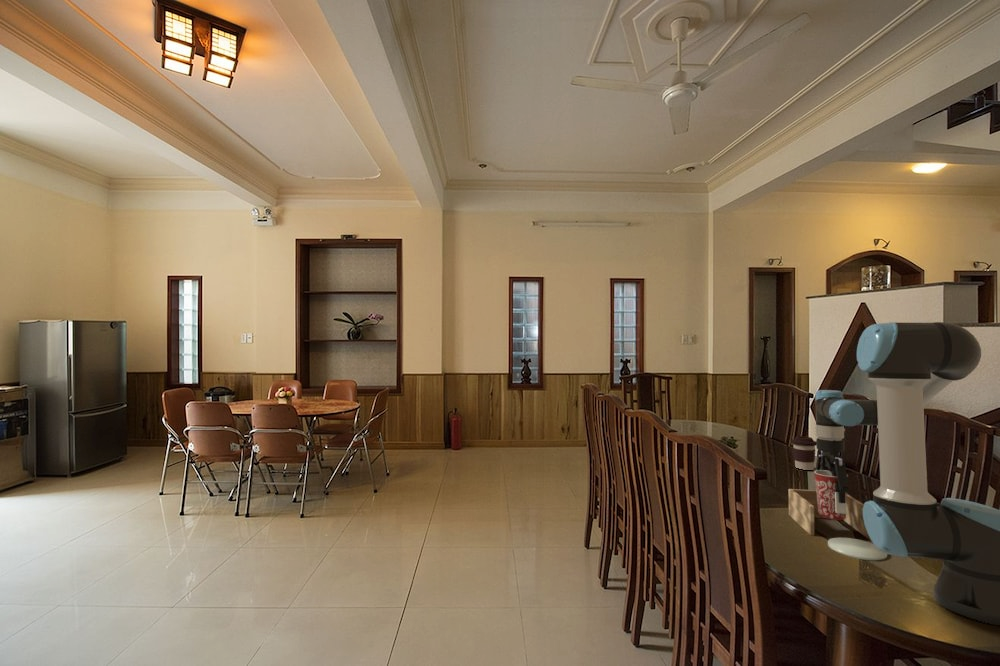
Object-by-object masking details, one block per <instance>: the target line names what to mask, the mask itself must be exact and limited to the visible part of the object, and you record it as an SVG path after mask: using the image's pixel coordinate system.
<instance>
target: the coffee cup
mask: <svg viewBox="0 0 1000 666" xmlns="http://www.w3.org/2000/svg"><path fill="white" fill-rule="evenodd" d="M791 444H792V445H793V447H792V450H793V460H794V466H795V467H796V468H799V469H803V470H813V471H814V469H815V468H814V467H815V460H816V459H815V457H816V447H817V445H816V441H815V440H814V439H813V437H810V436H804V435H803V436H802V435H801V436H799V435H798V436H795V437H794V438H792V439H791ZM796 468H795V469H796Z"/></svg>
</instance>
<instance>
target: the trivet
mask: <svg viewBox="0 0 1000 666" xmlns="http://www.w3.org/2000/svg"><path fill="white" fill-rule="evenodd" d="M827 546H828V548H829V549H830V550H832V551H833V552H836V553H838V554H840V555H842V556H845V557H849V558H853V559H858V560H863V561H876V562H877V561H883V560H886V559H887V558H888V554H886V553H883V552H881V551H880V550H879V549H878V548H877V547H876V546H875V545H874V544H873V542H870V541H867V540H863V539H858V538H851V537H833V538H829V539H828V540H827Z"/></svg>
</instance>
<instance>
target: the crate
mask: <svg viewBox="0 0 1000 666" xmlns="http://www.w3.org/2000/svg"><path fill="white" fill-rule="evenodd" d="M863 507H864V503H862V501H859V500H858V499H856V498H854V497H853V496H851V495H850V494H848V493H847V500H846V518H845V519H842V520H843V521H844V522H845V523H846V524H848V525H849V526H850V527H852V528H853V529H854V530H856V531H857V532H858V533H860V534H861V535H863V536H864V537H866V539H868V540H871V539H870V537H869V535H868V532H867V530H866V527H865V524H864V519H863ZM788 516H790V517H791V518H792V519H793V521H795V522H796V523H797V524H798V525H799V526H800V527H801V528H802V529H803V530H805V532H807V534H809V535H810V536H815V518H817V519H818V518H819V519H820V518H821V519H826V518H825V517H822V516H820V515H819V514H818V504H817V492H816V489H796V488H795V489H794V488H788Z"/></svg>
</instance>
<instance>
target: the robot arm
mask: <svg viewBox="0 0 1000 666" xmlns="http://www.w3.org/2000/svg"><path fill="white" fill-rule="evenodd" d="M857 343H858V344H857V347H856V361H857V363H858V364H857V365H858V368H859V369H860V370H861V371H863V372H865V373H867V375H868V376H867V379H868V380H869V381H870V382H871V383H873V384H874V385H875V387H876V399H845V398H844V393H843V392H842V391H841V390H833V389H819V390H817V391H815V399H814V403H815V436H816V438H815V439H816V449H817V452H816V453H817V455H816V464H815V468H814V469H815V470H814V471H816V470H829V471H831V473H832V476H833V477H837V480H838V481H836V489H835V490H834V492H835V512H836V513H843V514H846V492H847V493H850V491H851V489H850V484H849V479H848V478H849V477H848V478H847V475H848V473H847V468H846V459H845V458H840V453H844V452H845V440H844V438H845V431H846V428H845V427H854V426H877V428H878V431H877V432H878V433H877V435H878V455H879V456H878V458H879V459H878V460H879V479H880V480H879V481H880V485H879V487H878V488H876V489H875V490H874V491H873V492H872V500H868V501H865V502H864V503H863V504H864V507H863V519H864V524H865V527H866V530H867V532H868V535H869V537H870V539H869V540H871V543H873V544H874V545H875V546H876V547H877V548H878V549H879V550H880V551H881V552H883V553H886V554H887V555H890V556H891V555H892V556H897V557H898V556H899V557H902V558H916V559H918V558H919V559H933V560H942V568H941V571H940V572H939V574H938V576H937V579H936V582H935V584H934V585H933V598H934V600H935V601H936V602H937V604H939V605H940V606H942V607H943V608H945V609H946V608H947V609H946V610H948V609H949V610H948V611H950V610H951V611H950V612H952V611H954V612H956V613H955V614H957V613H959V614H961V615H964V616H966V617H965V618H967V617H969V618H968V619H970V618H972V619H971V620H973V619H976V620H978V621H977V622H980V621H982V622H981V623H984V622H985V623H984V624H988V623H989V624H988V625H994V626H999V627H1000V509H997V508H994V507H992V506H989V505H986V504H983V503H982V504H981V503H979V502H976V501H975V502H974V501H970V500H966V499H962V498H961V499H960V498H952V497H946V498H945V497H944V498H942V499H941V501H940V505H937V504H938V502H937V499H936V498H935V497H934V496H933V495H931V494H930V493H929V491H928V478H927V477H928V474H927V473H928V472H927V455H926V454H927V453H926V452H927V451H926V434H925V433H926V432H925V431H926V430H925V412H924V411H925V410H924V408H925V405H926V404H927V403H929V401H931V400H932V399H933V398H935V397H936V396H937V395H938V394H939V393H940V392H942V391H943V390H944V389H945V388H947V387H948V386H949V385H950V384H952V382H954V381H960V380H963V379H965V378H967V377H968V376H969V375H970V374H971V373H972V372H974V371H975V370H976V368H977V367H978V365H979V363H980V361H981V357H982V347H981V345H980V343H979V340H978V339H977V337H975V335H973V334H972V332H970V331H969V330H968V329H966V328H964V327H962V326H961V325H958V324H955V323H952V322H944V321H943V322H942V321H937V322H935V321H934V322H884V323H881V322H880V323H873V324H871V325H869V326H868V327H866V328H865V329H864V330H863V331H862V333H861V335H860V337H859V339H858V342H857ZM842 487H843V488H842ZM954 612H953V613H954ZM959 614H958V615H959ZM961 615H960V616H961ZM964 616H963V617H964ZM976 620H975V621H976Z"/></svg>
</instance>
